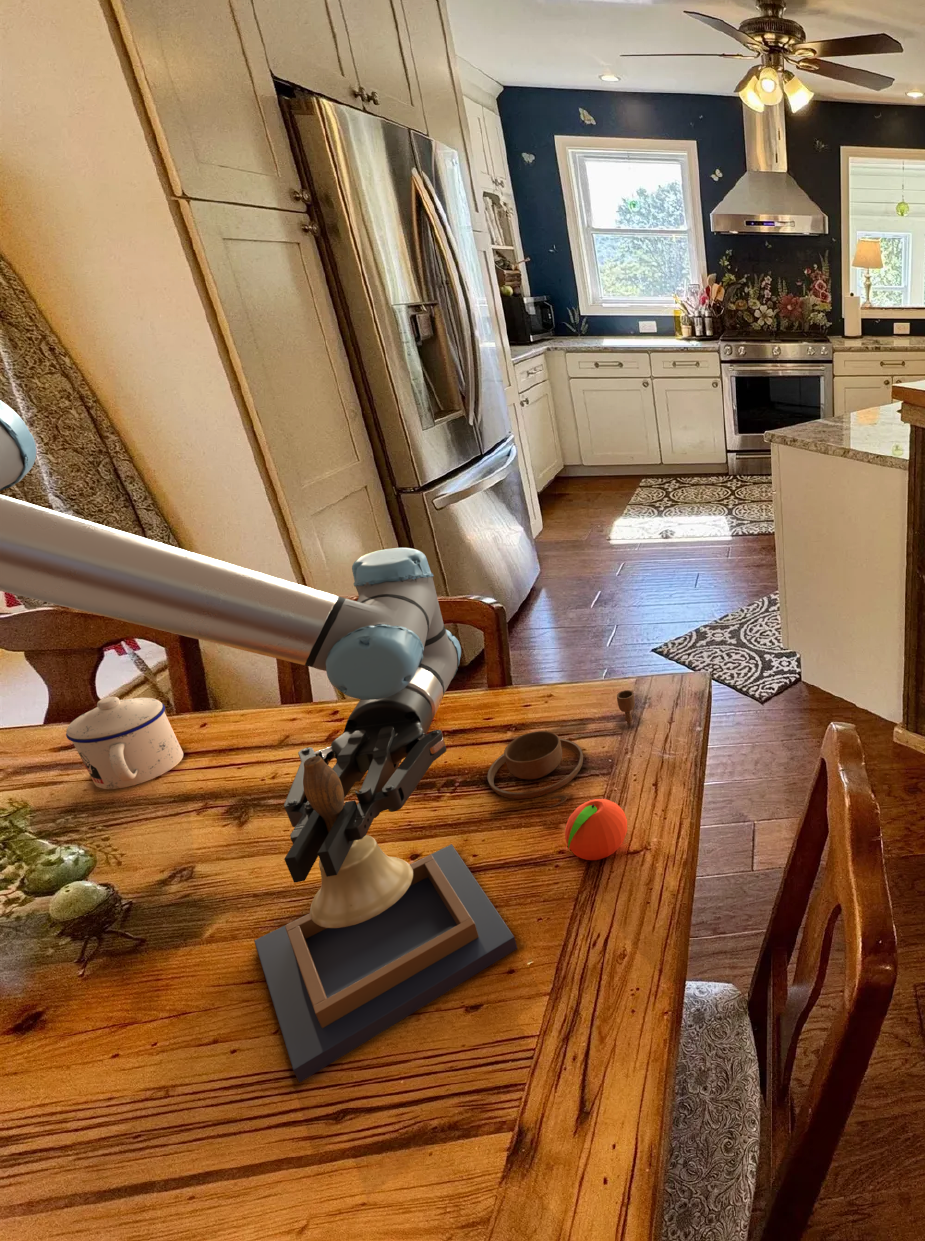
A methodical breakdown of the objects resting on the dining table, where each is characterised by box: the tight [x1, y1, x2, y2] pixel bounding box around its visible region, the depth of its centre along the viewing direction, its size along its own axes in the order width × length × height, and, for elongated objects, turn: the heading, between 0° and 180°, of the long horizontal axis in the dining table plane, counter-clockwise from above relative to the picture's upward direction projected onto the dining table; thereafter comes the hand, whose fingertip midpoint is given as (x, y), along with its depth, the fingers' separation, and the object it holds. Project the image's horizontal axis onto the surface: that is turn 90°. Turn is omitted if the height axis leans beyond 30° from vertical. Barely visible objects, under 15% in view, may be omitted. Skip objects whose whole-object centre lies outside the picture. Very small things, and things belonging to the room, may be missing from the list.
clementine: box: [564, 798, 628, 861], centre depth 84 cm, size 8×7×7 cm
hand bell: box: [303, 756, 413, 928], centre depth 65 cm, size 8×8×16 cm
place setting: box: [487, 689, 636, 808], centre depth 98 cm, size 18×20×6 cm
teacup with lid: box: [65, 696, 184, 790], centre depth 92 cm, size 12×9×12 cm
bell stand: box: [254, 843, 518, 1083], centre depth 71 cm, size 18×18×4 cm
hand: (311, 866), depth 60 cm, fingers closed on hand bell, 2 cm apart
